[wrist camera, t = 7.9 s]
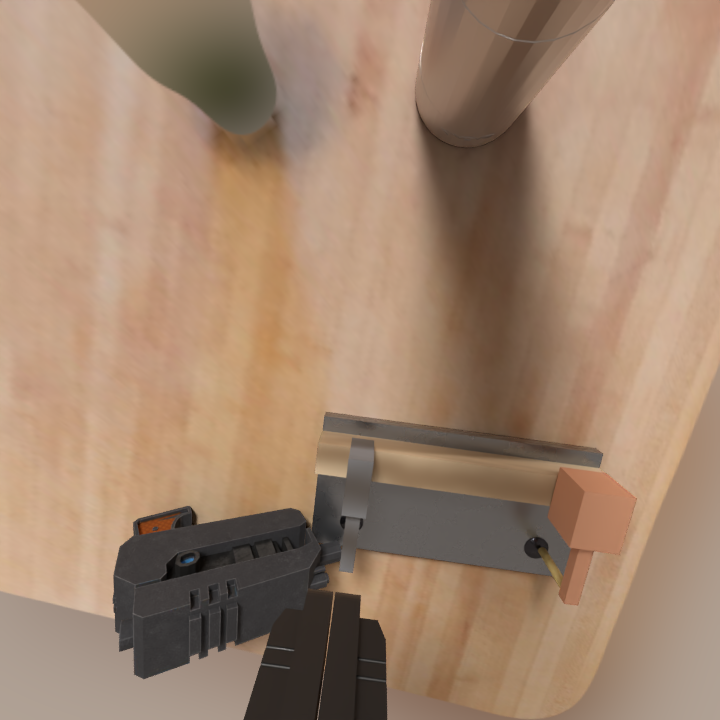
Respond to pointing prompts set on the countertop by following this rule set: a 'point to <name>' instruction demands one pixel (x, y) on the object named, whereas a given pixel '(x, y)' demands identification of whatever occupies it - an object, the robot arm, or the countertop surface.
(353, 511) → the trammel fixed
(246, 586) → the tool
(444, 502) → the hole plate
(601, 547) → the slider leg
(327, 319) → the countertop surface
